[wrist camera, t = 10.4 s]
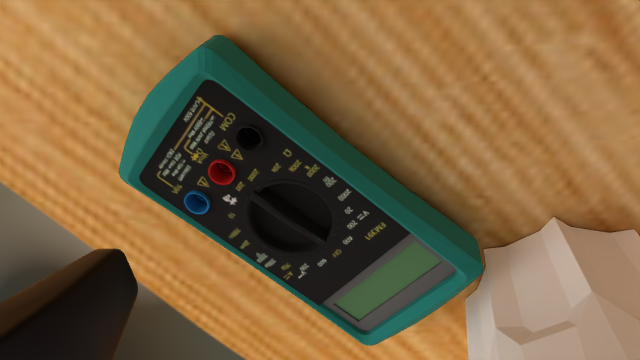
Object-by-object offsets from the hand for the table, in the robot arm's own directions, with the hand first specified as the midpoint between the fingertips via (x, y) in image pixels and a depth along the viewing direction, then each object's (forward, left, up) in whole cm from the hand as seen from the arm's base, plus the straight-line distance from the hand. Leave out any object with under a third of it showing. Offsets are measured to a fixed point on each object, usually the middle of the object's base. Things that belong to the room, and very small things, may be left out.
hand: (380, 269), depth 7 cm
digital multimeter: (+4, +6, -12) cm, 14 cm away
